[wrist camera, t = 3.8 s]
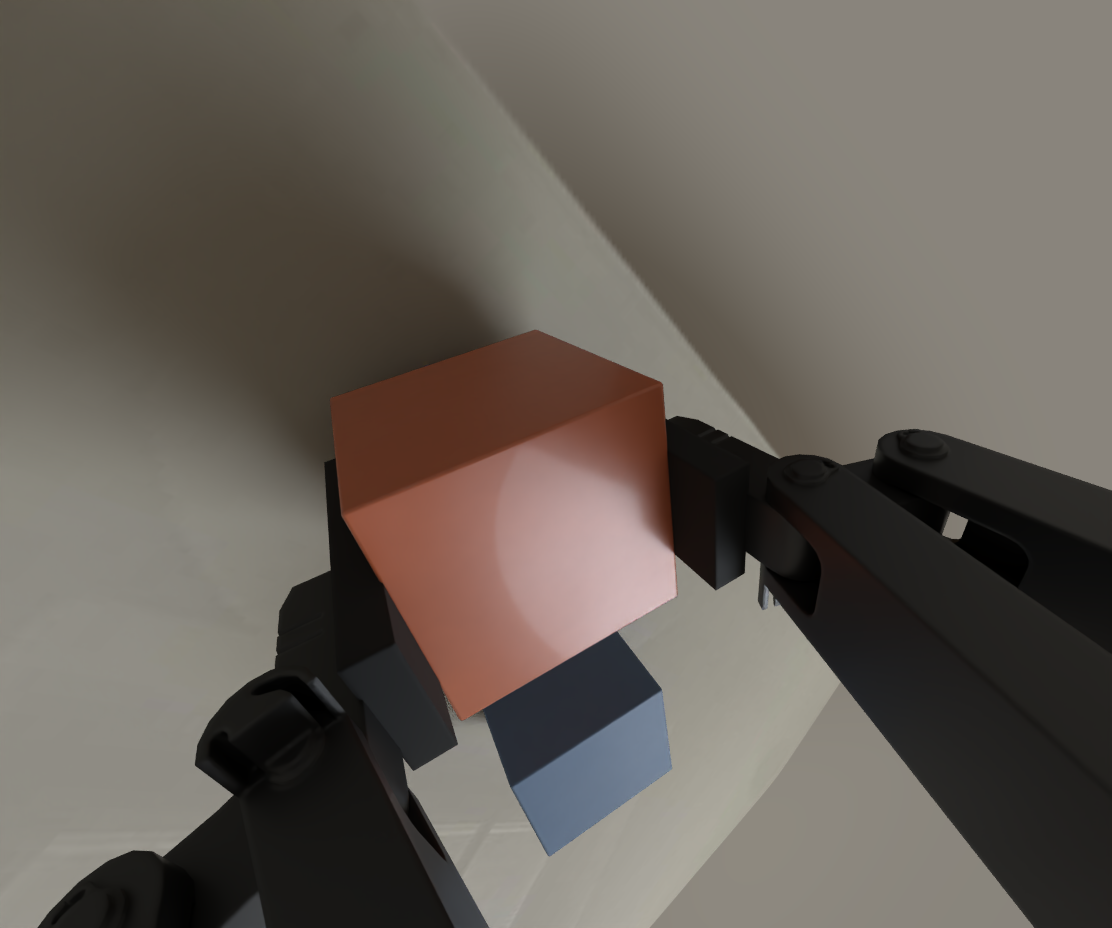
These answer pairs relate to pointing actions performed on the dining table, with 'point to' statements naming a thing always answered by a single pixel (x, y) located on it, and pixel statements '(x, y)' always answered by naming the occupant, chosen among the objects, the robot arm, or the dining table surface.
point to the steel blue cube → (581, 740)
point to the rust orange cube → (510, 506)
